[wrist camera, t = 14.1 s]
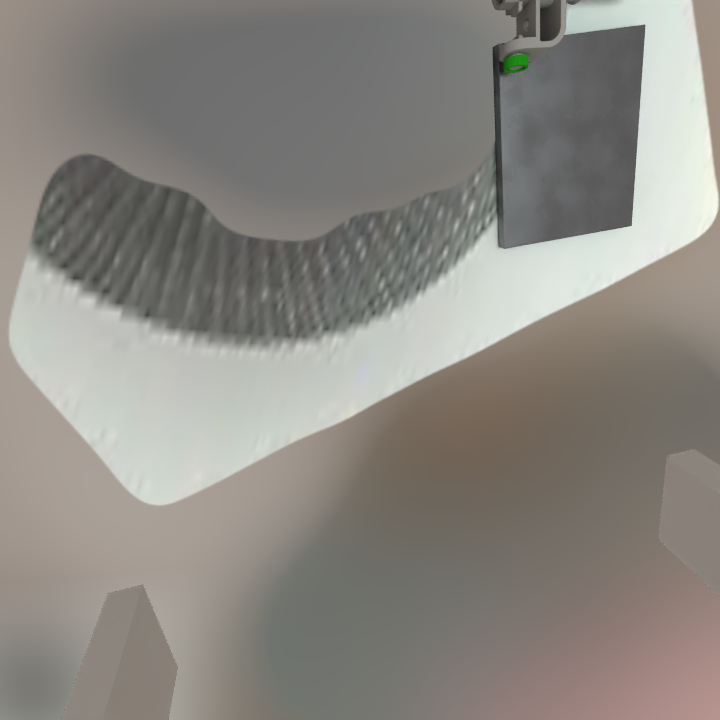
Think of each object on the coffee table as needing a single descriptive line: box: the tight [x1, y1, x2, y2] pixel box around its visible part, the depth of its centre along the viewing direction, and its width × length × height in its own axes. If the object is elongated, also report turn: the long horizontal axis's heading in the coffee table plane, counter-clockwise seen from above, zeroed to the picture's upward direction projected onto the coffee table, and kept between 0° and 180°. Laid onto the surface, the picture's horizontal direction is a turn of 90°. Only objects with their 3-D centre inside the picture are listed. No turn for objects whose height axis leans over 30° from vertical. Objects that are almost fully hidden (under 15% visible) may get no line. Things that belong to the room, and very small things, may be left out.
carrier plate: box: [493, 25, 645, 249], centre depth 37 cm, size 14×11×1 cm
